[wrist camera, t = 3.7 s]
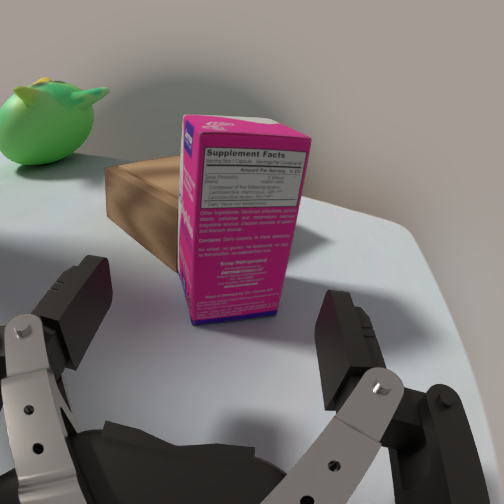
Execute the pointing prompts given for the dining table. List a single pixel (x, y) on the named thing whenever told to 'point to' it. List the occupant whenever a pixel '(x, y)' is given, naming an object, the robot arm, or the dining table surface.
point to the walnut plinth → (147, 204)
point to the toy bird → (46, 121)
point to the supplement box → (237, 214)
